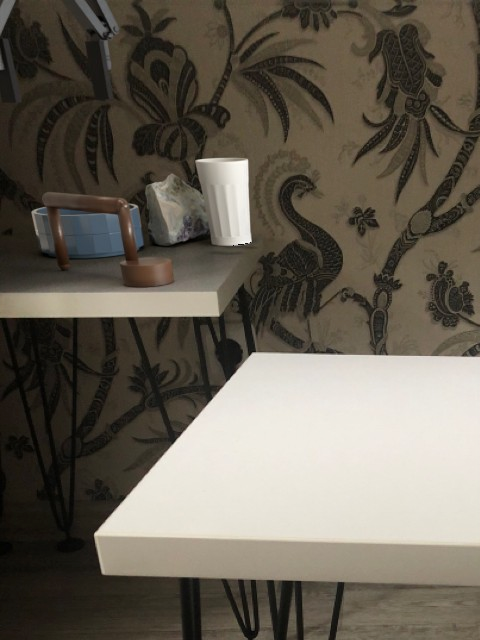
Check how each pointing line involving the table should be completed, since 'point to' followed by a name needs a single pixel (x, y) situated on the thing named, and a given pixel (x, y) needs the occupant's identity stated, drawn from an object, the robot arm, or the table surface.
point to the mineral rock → (175, 211)
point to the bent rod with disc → (132, 267)
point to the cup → (226, 199)
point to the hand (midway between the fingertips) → (60, 101)
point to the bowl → (87, 232)
